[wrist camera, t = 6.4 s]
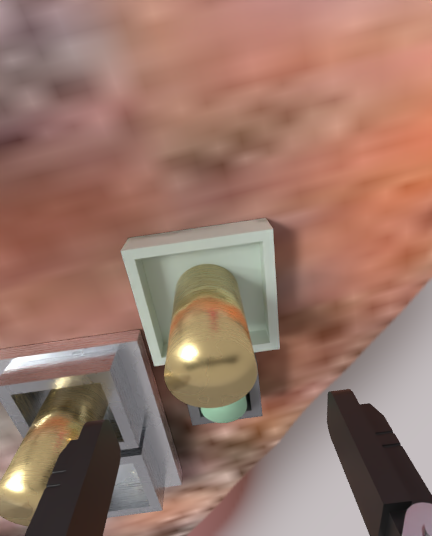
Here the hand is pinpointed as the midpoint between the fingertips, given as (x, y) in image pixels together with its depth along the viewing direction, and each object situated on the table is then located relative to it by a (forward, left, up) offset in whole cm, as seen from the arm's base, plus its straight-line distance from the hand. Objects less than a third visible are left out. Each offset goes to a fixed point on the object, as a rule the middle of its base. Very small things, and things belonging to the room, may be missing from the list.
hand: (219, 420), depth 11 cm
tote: (0, 0, -10) cm, 10 cm away
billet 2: (0, 0, -9) cm, 9 cm away
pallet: (+10, -10, -10) cm, 18 cm away
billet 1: (+6, -10, -9) cm, 15 cm away
